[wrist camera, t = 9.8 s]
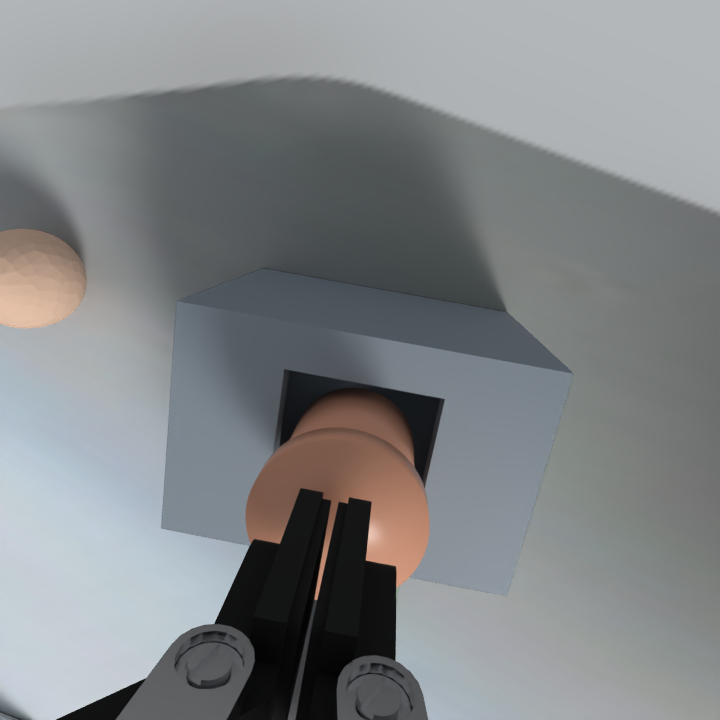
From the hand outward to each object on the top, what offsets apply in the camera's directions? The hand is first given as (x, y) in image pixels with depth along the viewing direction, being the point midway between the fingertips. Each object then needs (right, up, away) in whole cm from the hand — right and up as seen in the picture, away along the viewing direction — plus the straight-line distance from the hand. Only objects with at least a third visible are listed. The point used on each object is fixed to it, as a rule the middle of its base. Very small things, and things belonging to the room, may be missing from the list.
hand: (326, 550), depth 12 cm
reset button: (0, +1, +5) cm, 5 cm away
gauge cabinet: (+1, +4, +14) cm, 15 cm away
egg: (-14, +9, +14) cm, 22 cm away
